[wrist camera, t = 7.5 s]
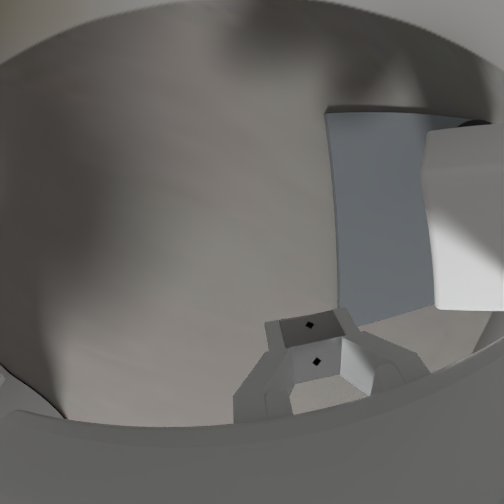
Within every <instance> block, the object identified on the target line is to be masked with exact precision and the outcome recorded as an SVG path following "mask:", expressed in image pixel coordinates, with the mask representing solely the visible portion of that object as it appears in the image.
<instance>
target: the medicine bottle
mask: <svg viewBox="0 0 504 504" xmlns="http://www.w3.org/2000/svg"><path fill="white" fill-rule="evenodd" d="M419 179H420V184H421V188H422V193H423V199H424V204H425V210H426V216H427V223H428V229H429V237H430V245H431V255H432V266H433V279H434V301H435V306H436V307H437V308H438V309H443V310H475V311H504V124H491V123H489V122H487V121H483V120H471V121H467V122H464V123H462V124H460V125H459V126H458V127H456V128H449V129H441V130H433V131H429V132H428V133H427V137H426V143H425V149H424V154H423V160H422V165H421V170H420V177H419Z"/></svg>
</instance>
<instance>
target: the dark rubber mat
mask: <svg viewBox="0 0 504 504" xmlns="http://www.w3.org/2000/svg"><path fill="white" fill-rule="evenodd" d="M324 117H325V124H326V131H327V139H328V147H329V156H330V165H331V175H332V185H333V197H334V210H335V226H336V246H337V278H338V308H340V307H345V308H346V309H347V311H348V312H349V314H350V315H351V317H352V319H353V320H354V322H355V323H356V325H357V326H360V325H364V324H368V323H372V322H376V321H379V320H383V319H386V318H390V317H393V316H397V315H400V314H403V313H407V312H410V311H413V310H416V309H420V308H423V307H426V306H429V305H432V304H435V301H434V279H433V266H432V255H431V245H430V237H429V229H428V223H427V216H426V210H425V204H424V199H423V193H422V188H421V184H420V179H419V177H420V170H421V165H422V160H423V154H424V149H425V143H426V137H427V133H428V132H429V131H433V130H441V129H449V128H456V127H458V126H459V125H460V124H462V123H464V122H467V121H471V120H473V119H466V118H458V117H450V116H440V115H429V114H415V113H392V112H348V113H326V114H324ZM489 123H490V122H489Z"/></svg>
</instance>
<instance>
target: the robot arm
mask: <svg viewBox="0 0 504 504" xmlns="http://www.w3.org/2000/svg"><path fill="white" fill-rule="evenodd" d="M265 330H266V336H267V342H268V348H269V351H268V352H265V353H264V354H263V356H262V357H261V359H260V360H259V361H258V363H257V364H256V366H255V367H254V368H253V370H252V371H251V373H250V374H249V375H248V377H247V378H246V379H245V381H244V382H243V383H242V385H241V386H240V387H239V389H238V390H237V391H236V393H235V394H234V395H233V414H234V424H225V425H213V426H195V427H137V426H120V425H108V424H98V423H89V422H81V421H74V420H68V419H64V418H63V417H62V416H61V415H60V413H59V412H58V411H57V410H56V409H55V408H54V407H53V406H52V405H50V404H49V403H48V402H47V401H46V400H45V399H44V398H42V397H41V396H40V395H39V394H37V393H36V392H35V391H34V390H32V389H31V388H29V387H28V386H27V385H25V384H24V383H22V382H21V381H19V380H18V379H16V378H15V377H13V376H12V375H10V374H9V373H8V372H7V371H6V370H5V369H4V368H3V367H2V366H1V365H0V504H504V337H502V338H500V339H499V340H497V341H495V342H494V343H492V344H490V345H488V346H487V347H485V348H483V349H481V350H479V351H477V352H476V353H474V354H472V355H470V356H468V357H466V358H464V359H462V360H460V361H458V362H456V363H453V364H451V365H449V366H447V367H445V368H443V369H440V370H438V371H436V372H433V373H430V371H429V370H428V369H427V367H426V366H425V364H424V363H423V362H422V360H421V359H420V357H419V356H418V355H417V353H415V352H413V351H410V350H408V349H405V348H403V347H401V346H398V345H396V344H394V343H391V342H389V341H387V340H384V339H382V338H379V337H377V336H375V335H372V334H370V333H368V332H366V331H362V332H360V330H359V328H358V327H357V325H356V323H355V322H354V320H353V319H352V317H351V315H350V314H349V312H348V311H347V309H346V308H345V307H340V308H337V309H332V310H330V311H326V312H321V313H316V314H311V315H307V316H300V317H294V318H288V319H281V320H279V321H278V320H276V321H270V322H265ZM338 374H340V376H342V377H343V378H345V379H346V380H347V381H349V382H350V383H351V384H353V385H354V386H356V387H357V388H358V389H360V390H361V391H363V392H364V393H366V394H367V395H368V397H365V398H361V399H358V400H355V401H351V402H347V403H344V404H340V405H336V406H332V407H328V408H324V409H320V410H315V411H311V412H306V413H301V414H296V415H293V412H292V407H291V403H290V398H289V396H290V394H291V392H292V389H293V387H294V384H298V383H302V382H307V381H311V380H315V379H319V378H324V377H329V376H334V375H338Z"/></svg>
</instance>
